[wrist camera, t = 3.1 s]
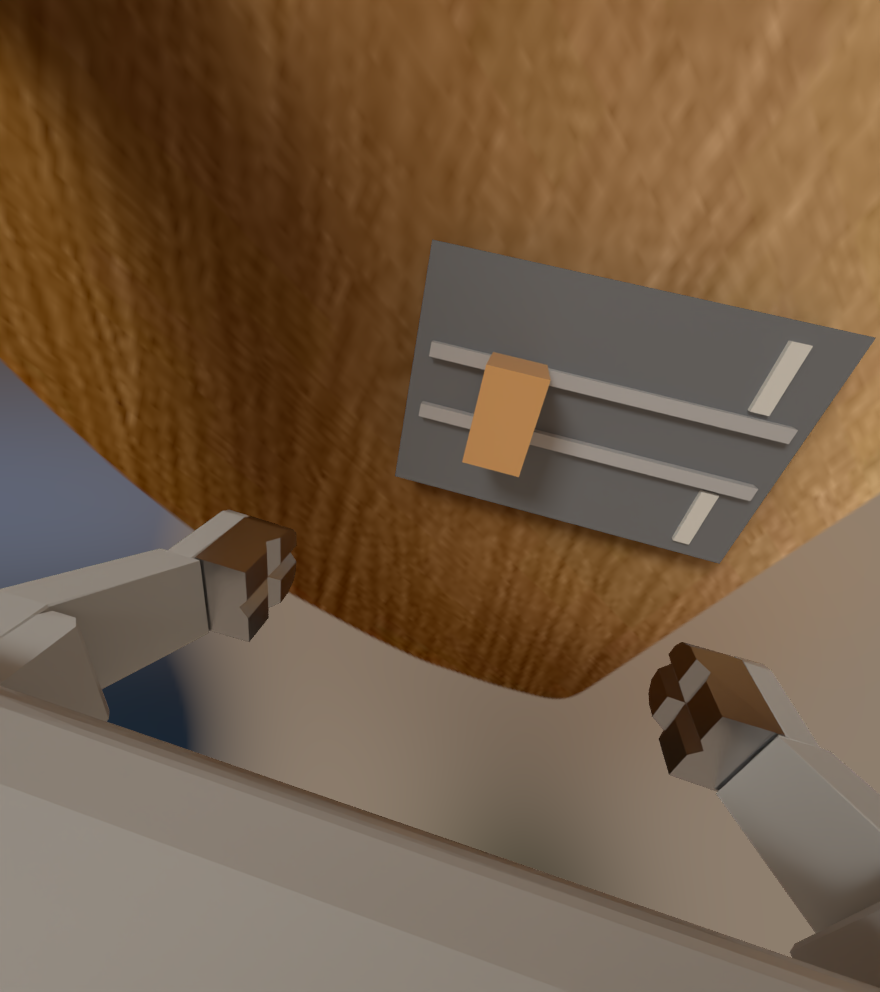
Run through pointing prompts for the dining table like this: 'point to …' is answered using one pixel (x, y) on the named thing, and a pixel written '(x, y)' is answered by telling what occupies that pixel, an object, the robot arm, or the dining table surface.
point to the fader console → (618, 398)
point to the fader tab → (506, 413)
